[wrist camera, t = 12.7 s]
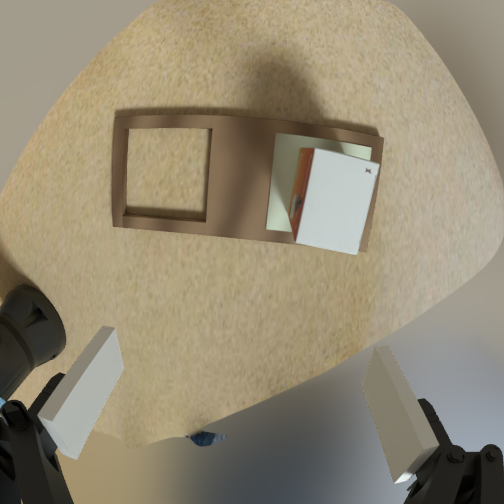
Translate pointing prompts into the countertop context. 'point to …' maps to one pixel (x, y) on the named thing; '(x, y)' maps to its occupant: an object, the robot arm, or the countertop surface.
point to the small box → (331, 199)
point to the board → (242, 173)
